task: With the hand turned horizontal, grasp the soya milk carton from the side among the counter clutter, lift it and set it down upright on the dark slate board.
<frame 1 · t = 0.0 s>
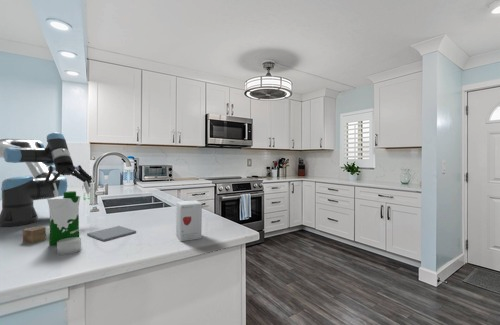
hand: (73, 194, 121), 15 cm above the counter, tool tilted 35°, fingers open, 13 cm apart
soya milk: (64, 242, 98), on the counter
slate board: (112, 233, 109), on the counter
white cylinder puck: (69, 251, 89), on the counter
supplement box: (188, 237, 106), on the counter
walnut block: (34, 240, 100), on the counter
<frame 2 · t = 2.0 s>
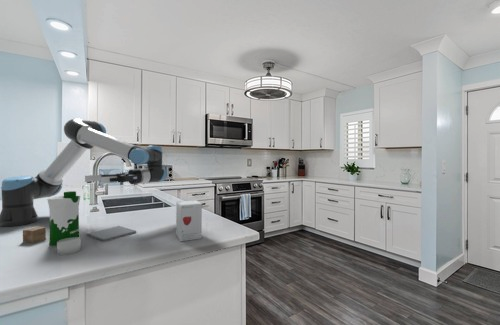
hand: (92, 179, 107), 24 cm above the counter, tool horizontal, fingers open, 13 cm apart
nothing on the counter moved.
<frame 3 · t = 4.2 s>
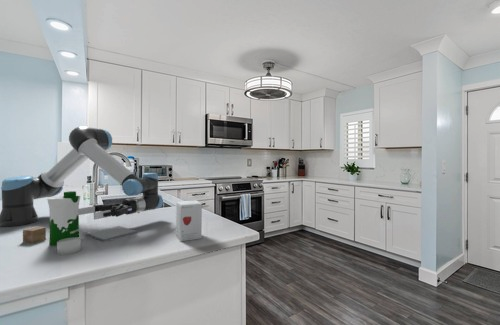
hand: (86, 214, 104), 10 cm above the counter, tool horizontal, fingers open, 13 cm apart
nothing on the counter moved.
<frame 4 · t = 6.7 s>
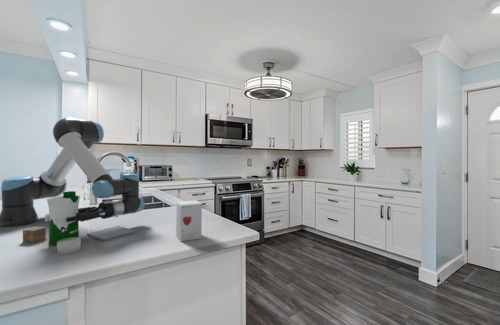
hand: (50, 219, 94), 10 cm above the counter, tool horizontal, fingers closed on soya milk, 8 cm apart
soya milk: (64, 242, 98), on the counter, touching gripper
everything else where it was.
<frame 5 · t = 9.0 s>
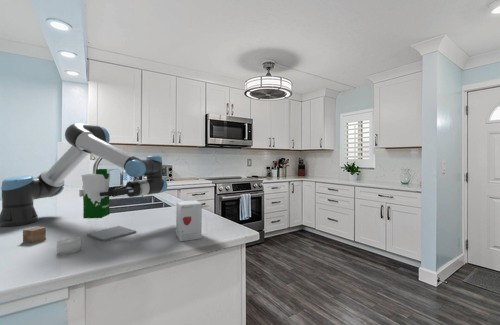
hand: (84, 194, 100), 19 cm above the counter, tool horizontal, fingers closed on soya milk, 8 cm apart
soya milk: (96, 216, 104), point 9 cm above the counter, touching gripper
everything else where it was.
when the fingers open (11 cm above the counter, at t = 11.5 s): soya milk stays where it is, resting on slate board.
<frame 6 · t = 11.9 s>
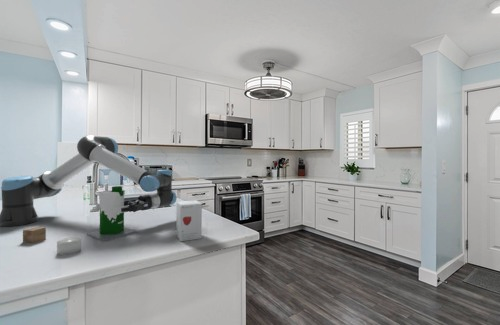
hand: (104, 209, 106), 11 cm above the counter, tool horizontal, fingers open, 13 cm apart
soya milk: (112, 232, 109), point 1 cm above the counter, touching slate board
everything else where it was.
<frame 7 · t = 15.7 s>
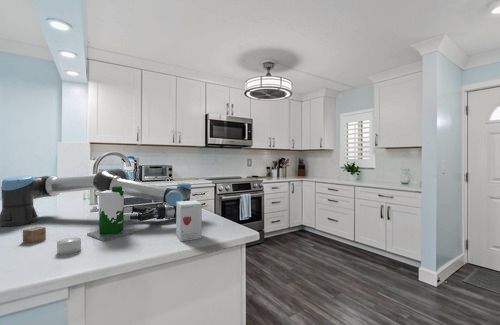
hand: (119, 213, 119), 6 cm above the counter, tool horizontal, fingers open, 13 cm apart
nothing on the counter moved.
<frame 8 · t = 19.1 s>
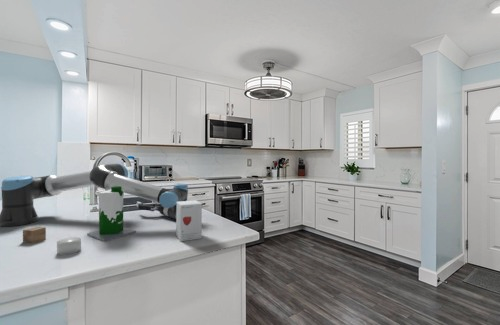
hand: (147, 202, 152), 6 cm above the counter, tool horizontal, fingers open, 13 cm apart
nothing on the counter moved.
at the end: soya milk inside the target area on the slate board (0.5 cm from its centre), point 0.6 cm above the slate board's base; soya milk tilted 0°; the gripper is holding nothing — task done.
